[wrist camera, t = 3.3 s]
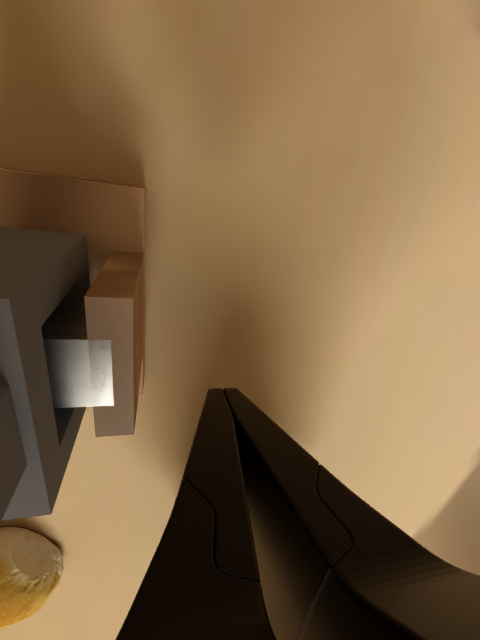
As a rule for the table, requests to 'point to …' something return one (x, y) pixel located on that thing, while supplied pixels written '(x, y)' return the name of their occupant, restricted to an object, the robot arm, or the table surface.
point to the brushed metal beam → (76, 360)
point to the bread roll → (26, 573)
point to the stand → (96, 268)
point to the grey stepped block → (34, 366)
